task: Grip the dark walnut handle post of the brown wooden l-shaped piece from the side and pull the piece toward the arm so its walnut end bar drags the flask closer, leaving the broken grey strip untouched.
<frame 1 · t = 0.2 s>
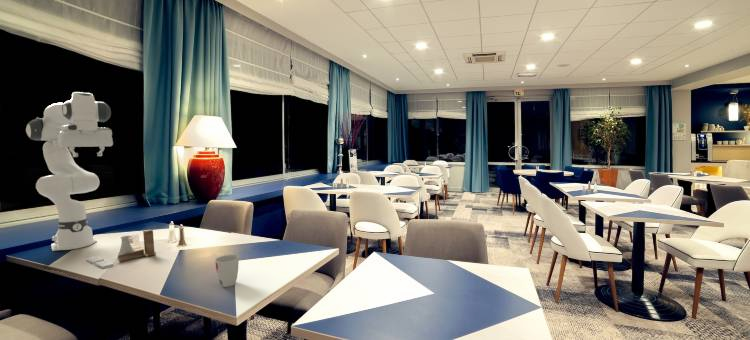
hand: (87, 156, 169), 48 cm above the table, tool pointing down, fingers open, 8 cm apart
brown wooden l-shaped piece: (129, 242, 172), point 6 cm above the table, slide at 0.0 cm
cup: (228, 284, 135), on the table
flask: (126, 257, 170), on the table
broken grey strip: (99, 263, 162), on the table
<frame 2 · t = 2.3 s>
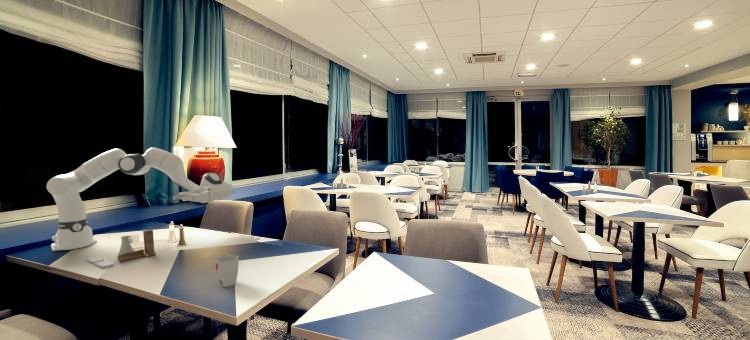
hand: (178, 198, 182), 25 cm above the table, tool horizontal, fingers open, 8 cm apart
nothing on the table moved.
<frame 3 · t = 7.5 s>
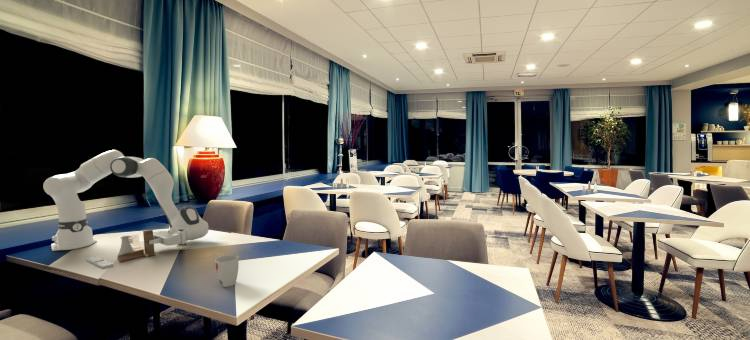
hand: (146, 241, 170), 7 cm above the table, tool horizontal, fingers closed on brown wooden l-shaped piece, 3 cm apart
brown wooden l-shaped piece: (129, 242, 172), point 6 cm above the table, slide at 0.0 cm, touching gripper
everything else where it was.
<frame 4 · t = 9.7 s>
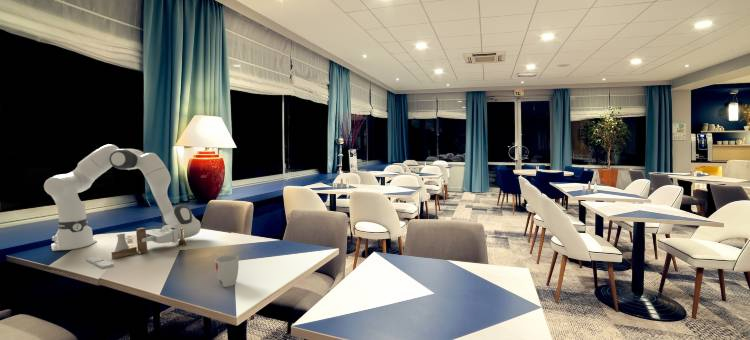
hand: (139, 239, 175), 7 cm above the table, tool horizontal, fingers closed on brown wooden l-shaped piece, 3 cm apart
brown wooden l-shaped piece: (122, 240, 176), point 6 cm above the table, slide at 7.7 cm, touching gripper, flask
flask: (122, 254, 174), on the table, touching brown wooden l-shaped piece
everything else where it was.
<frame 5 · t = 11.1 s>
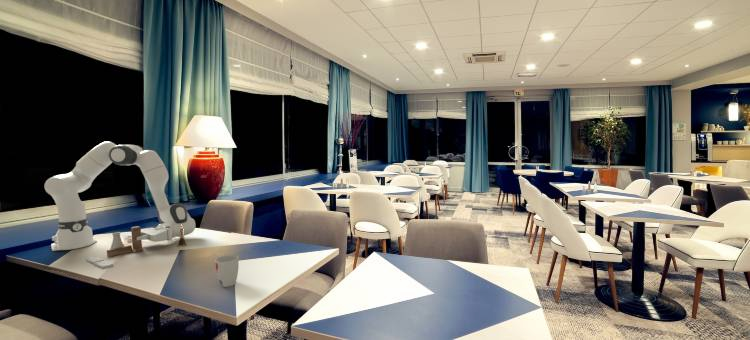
hand: (134, 238, 178), 7 cm above the table, tool horizontal, fingers closed on brown wooden l-shaped piece, 3 cm apart
brown wooden l-shaped piece: (118, 238, 179), point 6 cm above the table, slide at 13.4 cm, touching gripper, flask
flask: (118, 253, 178), on the table, touching brown wooden l-shaped piece
everything else where it was.
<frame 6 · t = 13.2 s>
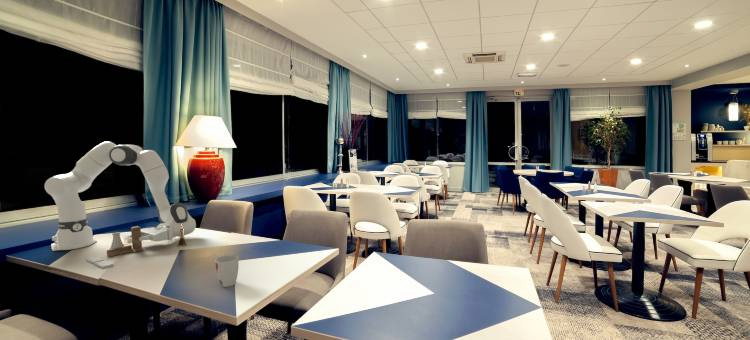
hand: (134, 237, 178), 7 cm above the table, tool horizontal, fingers open, 8 cm apart
brown wooden l-shaped piece: (118, 238, 179), point 6 cm above the table, slide at 13.5 cm
flask: (117, 253, 178), on the table
everything else where it was.
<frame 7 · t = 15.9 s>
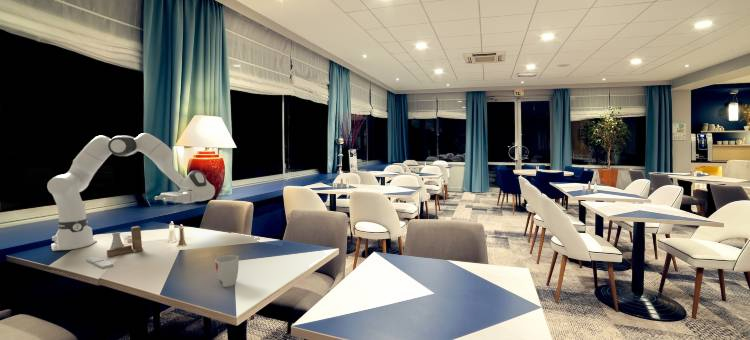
hand: (159, 199, 187), 25 cm above the table, tool horizontal, fingers open, 8 cm apart
nothing on the table moved.
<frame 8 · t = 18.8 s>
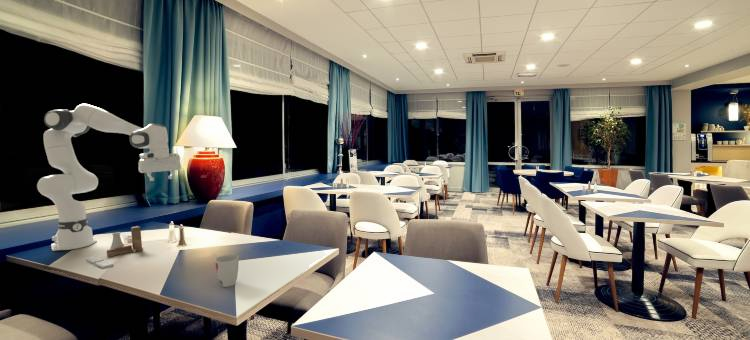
hand: (161, 179, 192), 34 cm above the table, tool pointing down, fingers open, 8 cm apart
nothing on the table moved.
at the end: brown wooden l-shaped piece slide at 13.5 cm; flask inside the target area (1.0 cm from its centre), on the table; flask tilted 0° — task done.
